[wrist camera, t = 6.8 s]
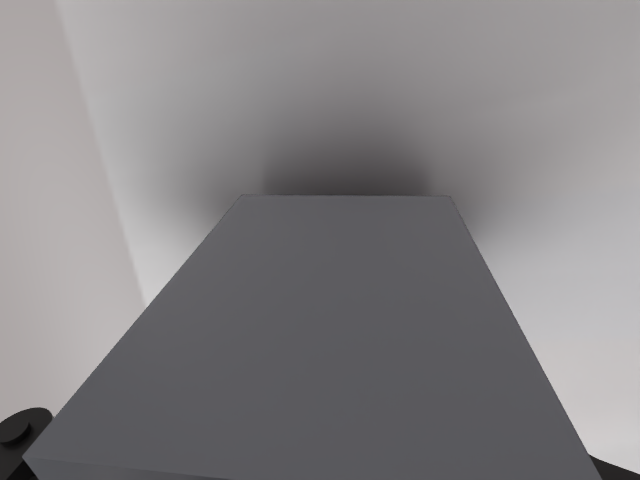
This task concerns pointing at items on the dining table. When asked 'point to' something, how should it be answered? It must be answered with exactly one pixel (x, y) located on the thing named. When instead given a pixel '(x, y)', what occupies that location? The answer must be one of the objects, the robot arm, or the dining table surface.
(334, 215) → the gray cube
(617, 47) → the dining table surface
